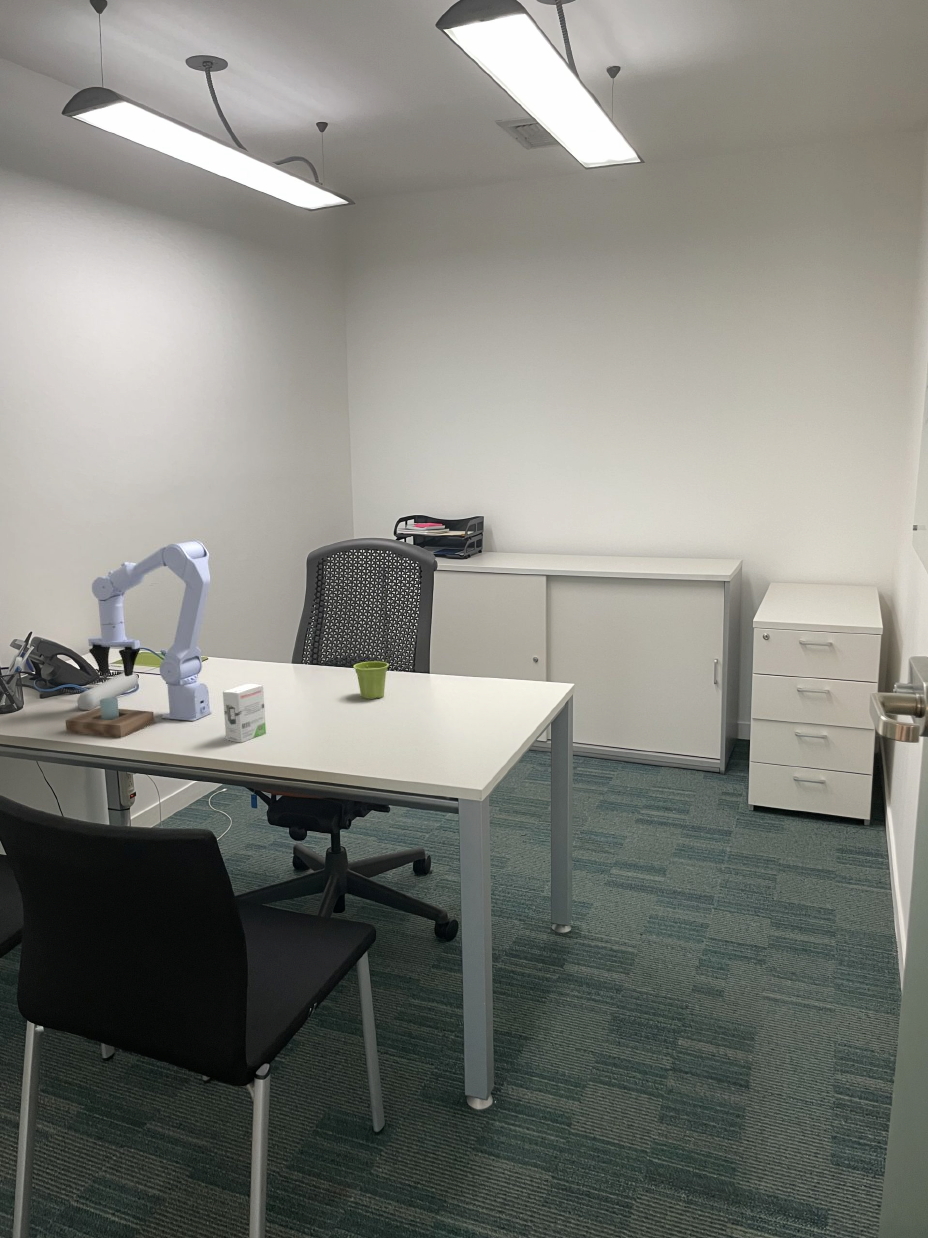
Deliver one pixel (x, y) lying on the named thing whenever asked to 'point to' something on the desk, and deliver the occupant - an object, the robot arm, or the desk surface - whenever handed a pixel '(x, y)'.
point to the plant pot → (371, 678)
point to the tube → (106, 690)
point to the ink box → (244, 712)
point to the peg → (109, 708)
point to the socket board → (110, 723)
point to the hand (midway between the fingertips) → (116, 674)
